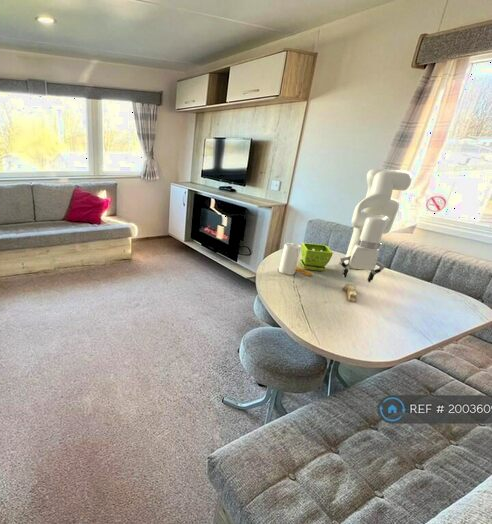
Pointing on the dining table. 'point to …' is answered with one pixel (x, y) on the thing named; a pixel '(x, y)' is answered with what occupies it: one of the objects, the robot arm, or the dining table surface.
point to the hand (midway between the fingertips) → (356, 278)
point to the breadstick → (303, 271)
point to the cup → (289, 258)
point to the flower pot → (315, 256)
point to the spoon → (351, 292)
